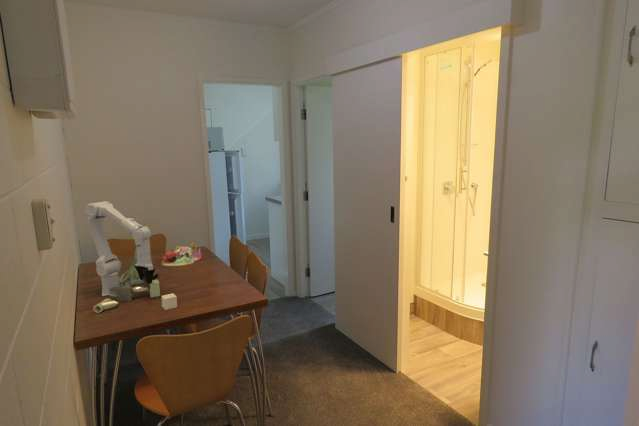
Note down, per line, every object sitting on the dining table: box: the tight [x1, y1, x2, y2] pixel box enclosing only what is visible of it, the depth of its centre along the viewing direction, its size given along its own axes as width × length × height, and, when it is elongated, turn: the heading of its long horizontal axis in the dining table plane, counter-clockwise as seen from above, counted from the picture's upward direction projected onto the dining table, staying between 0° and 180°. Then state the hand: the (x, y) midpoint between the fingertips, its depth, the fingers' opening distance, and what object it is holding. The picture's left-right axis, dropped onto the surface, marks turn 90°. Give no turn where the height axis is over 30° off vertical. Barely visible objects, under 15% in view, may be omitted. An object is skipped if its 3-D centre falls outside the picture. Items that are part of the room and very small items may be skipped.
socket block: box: [148, 279, 161, 298], centre depth 184 cm, size 6×4×6 cm, turn 29°
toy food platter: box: [160, 243, 203, 267], centre depth 243 cm, size 25×24×9 cm
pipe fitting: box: [92, 297, 119, 314], centre depth 168 cm, size 8×4×7 cm
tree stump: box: [118, 248, 159, 287], centre depth 207 cm, size 19×21×19 cm
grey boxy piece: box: [109, 285, 133, 304], centre depth 177 cm, size 5×8×6 cm, turn 119°
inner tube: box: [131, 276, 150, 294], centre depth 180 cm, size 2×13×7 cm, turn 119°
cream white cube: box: [160, 293, 178, 311], centre depth 169 cm, size 5×5×5 cm
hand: (146, 281), depth 182 cm, fingers open, 7 cm apart
